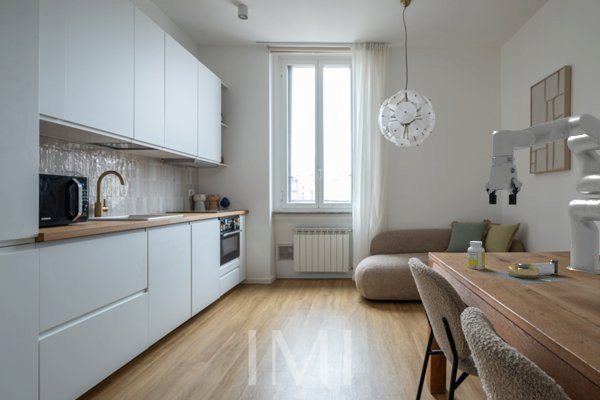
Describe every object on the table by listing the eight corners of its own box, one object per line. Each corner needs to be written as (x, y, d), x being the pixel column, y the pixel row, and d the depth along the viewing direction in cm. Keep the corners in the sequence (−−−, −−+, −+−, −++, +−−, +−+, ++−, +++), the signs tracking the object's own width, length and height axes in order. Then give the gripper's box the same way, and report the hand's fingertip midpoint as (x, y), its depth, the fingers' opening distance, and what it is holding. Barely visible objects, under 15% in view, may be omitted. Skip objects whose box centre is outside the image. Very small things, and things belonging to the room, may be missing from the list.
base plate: (521, 273, 147) (522, 269, 147) (569, 284, 128) (569, 280, 128) (482, 276, 142) (482, 272, 142) (525, 288, 123) (525, 283, 123)
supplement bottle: (481, 269, 155) (481, 240, 155) (487, 272, 149) (487, 242, 149) (465, 269, 156) (465, 240, 156) (471, 272, 149) (471, 242, 149)
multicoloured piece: (524, 279, 129) (524, 265, 129) (502, 273, 139) (502, 260, 139) (569, 276, 134) (569, 262, 134) (544, 271, 144) (544, 258, 144)
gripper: (529, 159, 133) (529, 204, 133) (493, 163, 149) (493, 204, 149) (513, 158, 131) (512, 204, 131) (478, 163, 147) (478, 204, 147)
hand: (502, 204), depth 140 cm, fingers open, 9 cm apart
